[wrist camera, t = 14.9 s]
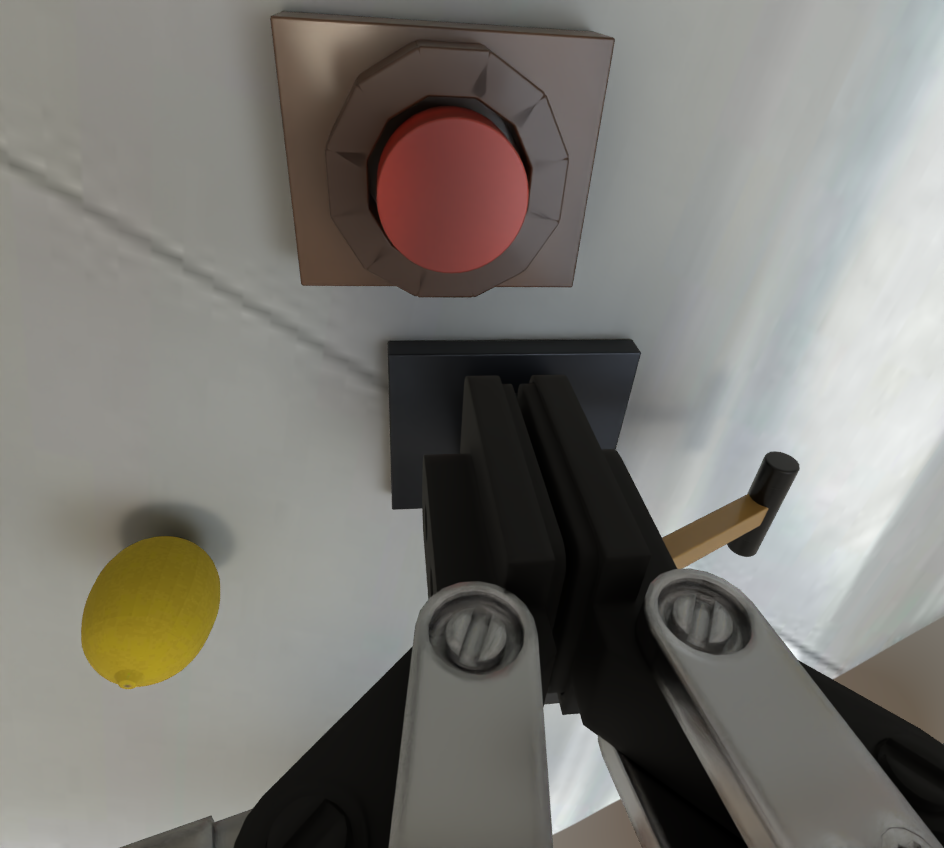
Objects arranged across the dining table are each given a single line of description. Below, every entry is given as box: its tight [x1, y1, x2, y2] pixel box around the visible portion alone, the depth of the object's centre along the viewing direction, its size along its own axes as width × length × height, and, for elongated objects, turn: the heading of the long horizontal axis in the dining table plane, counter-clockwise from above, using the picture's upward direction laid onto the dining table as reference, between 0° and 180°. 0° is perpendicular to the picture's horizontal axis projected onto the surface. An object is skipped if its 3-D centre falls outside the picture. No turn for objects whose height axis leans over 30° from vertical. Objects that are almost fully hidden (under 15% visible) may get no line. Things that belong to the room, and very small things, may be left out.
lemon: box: [81, 536, 220, 689], centre depth 28 cm, size 6×6×8 cm
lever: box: [662, 452, 799, 569], centre depth 23 cm, size 13×5×2 cm, turn 87°
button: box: [377, 106, 529, 273], centre depth 18 cm, size 4×4×2 cm
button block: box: [270, 11, 615, 297], centre depth 20 cm, size 10×8×4 cm
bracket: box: [388, 340, 641, 704], centre depth 24 cm, size 11×9×13 cm
